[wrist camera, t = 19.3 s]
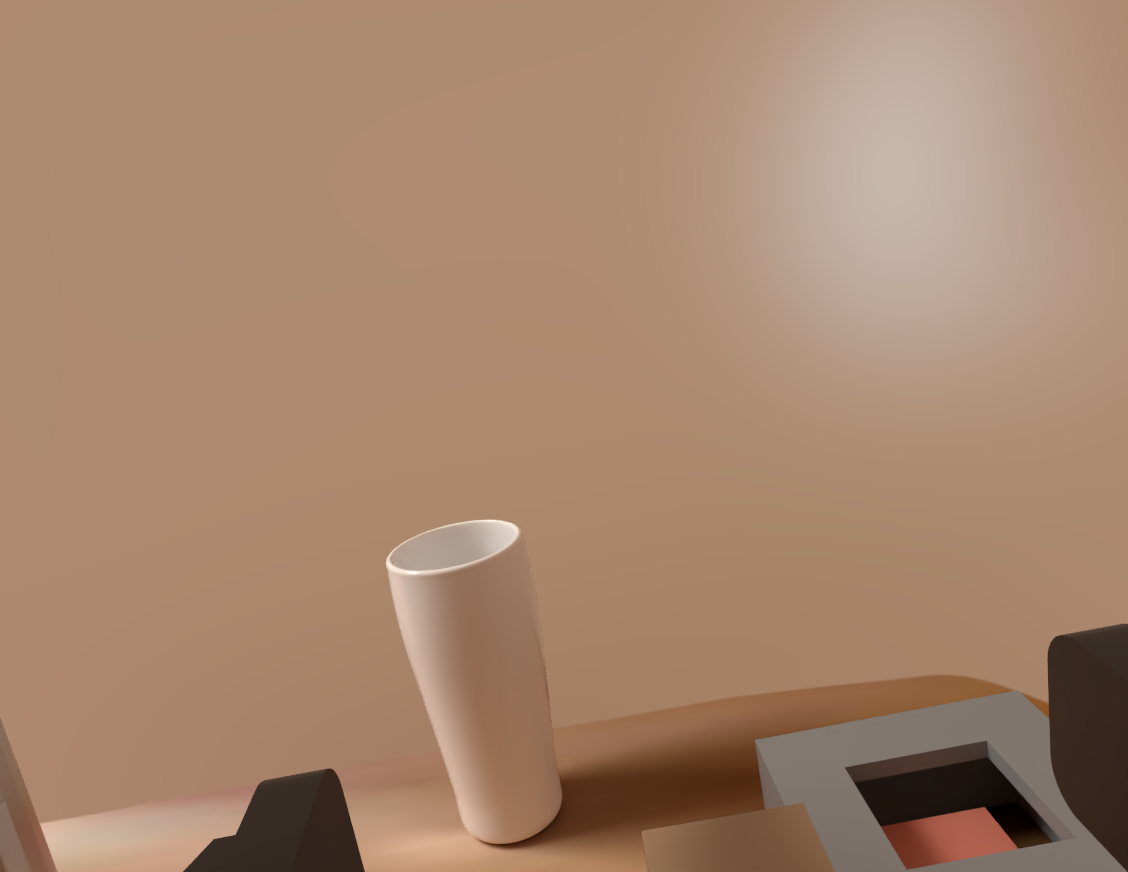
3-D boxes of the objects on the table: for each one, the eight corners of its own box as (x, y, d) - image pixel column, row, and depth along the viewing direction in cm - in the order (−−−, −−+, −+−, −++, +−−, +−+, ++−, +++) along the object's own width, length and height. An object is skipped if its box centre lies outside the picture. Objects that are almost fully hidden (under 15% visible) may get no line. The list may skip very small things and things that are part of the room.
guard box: (869, 1081, 28) (853, 955, 27) (768, 835, 40) (754, 740, 39) (1230, 1013, 28) (1229, 884, 27) (1024, 787, 40) (1017, 690, 39)
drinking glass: (583, 766, 48) (532, 510, 44) (573, 854, 41) (512, 561, 38) (464, 779, 49) (405, 529, 45) (435, 866, 42) (364, 581, 39)
